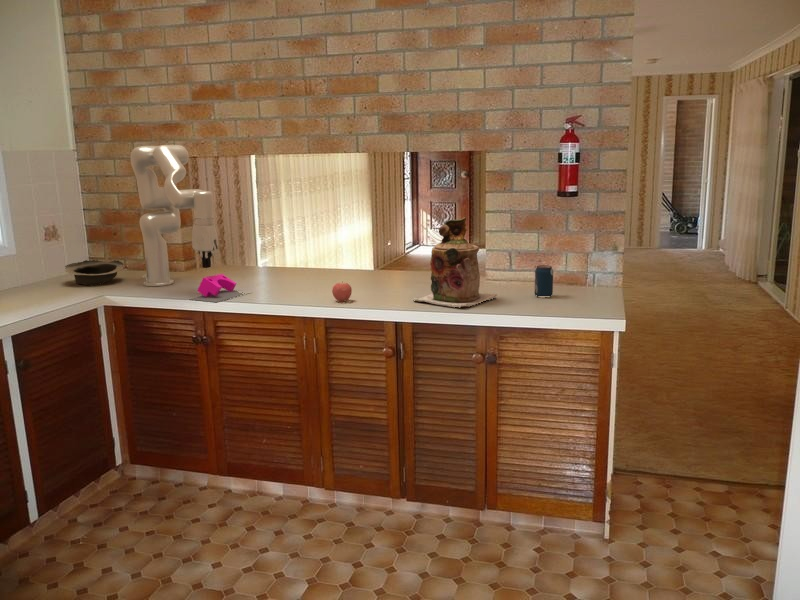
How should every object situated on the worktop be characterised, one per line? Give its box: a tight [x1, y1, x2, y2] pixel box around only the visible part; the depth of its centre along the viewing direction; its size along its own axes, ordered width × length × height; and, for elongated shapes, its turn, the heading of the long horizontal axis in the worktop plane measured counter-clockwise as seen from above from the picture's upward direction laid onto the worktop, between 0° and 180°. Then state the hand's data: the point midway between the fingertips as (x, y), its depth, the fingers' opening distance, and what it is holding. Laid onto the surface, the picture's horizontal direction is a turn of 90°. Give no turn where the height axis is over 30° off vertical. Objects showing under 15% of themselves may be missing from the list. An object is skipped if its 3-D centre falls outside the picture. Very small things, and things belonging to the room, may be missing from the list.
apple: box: [331, 280, 352, 303], centre depth 269 cm, size 7×7×8 cm
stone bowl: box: [64, 259, 124, 286], centre depth 317 cm, size 25×25×9 cm
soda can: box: [534, 264, 554, 297], centre depth 272 cm, size 7×7×12 cm
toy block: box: [196, 273, 237, 297], centre depth 285 cm, size 15×6×8 cm
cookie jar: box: [412, 217, 498, 309], centre depth 265 cm, size 25×25×32 cm
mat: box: [188, 289, 245, 303], centre depth 283 cm, size 14×22×1 cm, turn 153°
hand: (206, 267), depth 284 cm, fingers closed
